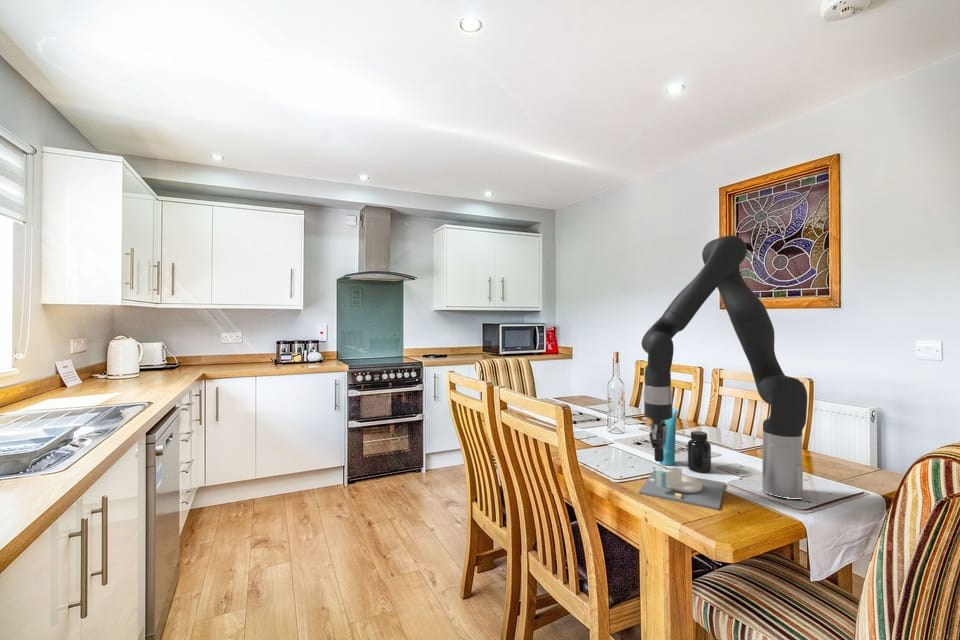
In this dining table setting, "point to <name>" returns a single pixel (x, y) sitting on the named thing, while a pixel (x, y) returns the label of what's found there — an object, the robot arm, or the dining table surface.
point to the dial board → (704, 498)
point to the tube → (670, 440)
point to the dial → (678, 481)
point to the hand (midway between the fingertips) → (659, 460)
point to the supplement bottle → (699, 452)
